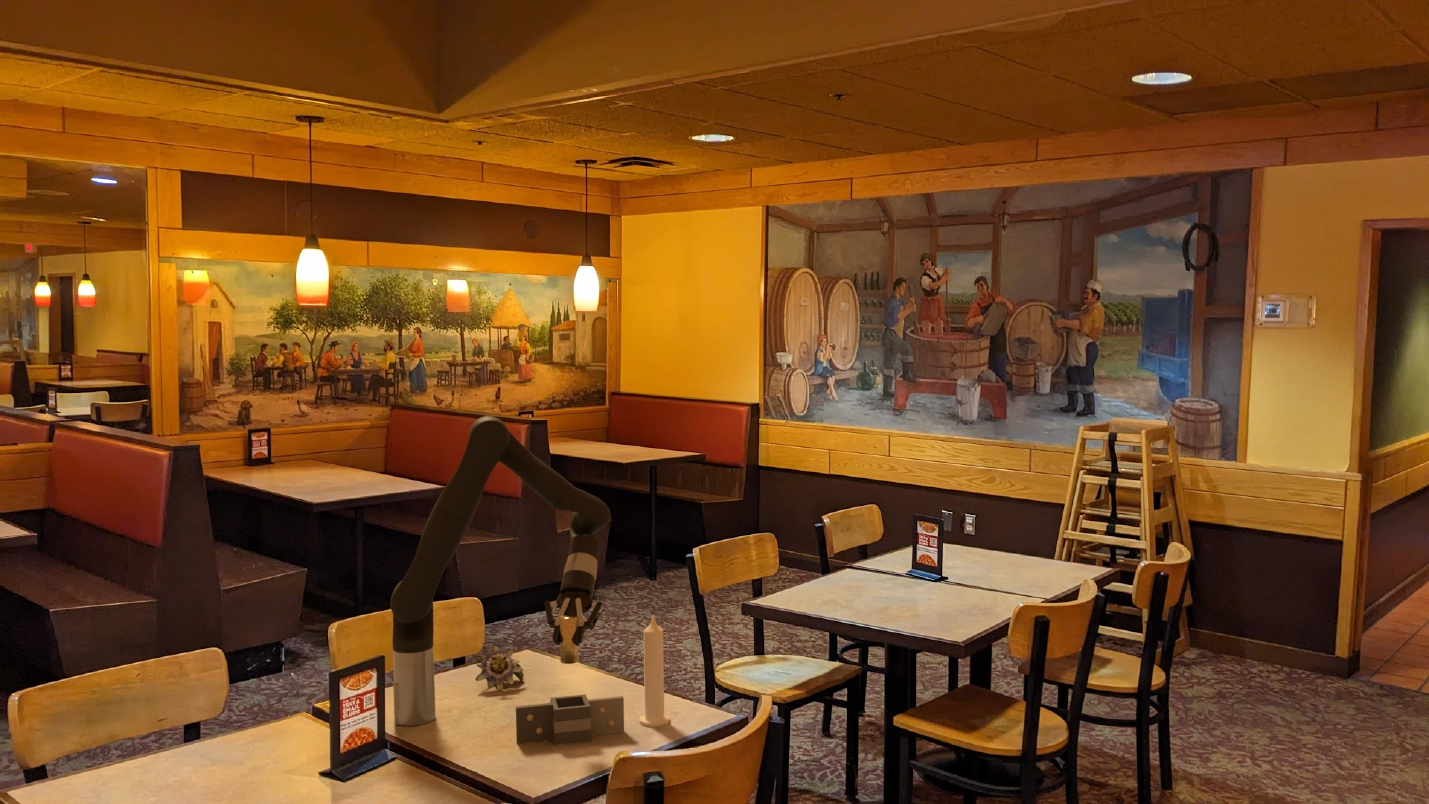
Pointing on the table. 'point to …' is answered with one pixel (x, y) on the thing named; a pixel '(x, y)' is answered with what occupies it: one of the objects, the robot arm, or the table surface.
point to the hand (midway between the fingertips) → (566, 643)
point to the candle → (654, 677)
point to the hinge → (569, 719)
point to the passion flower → (499, 668)
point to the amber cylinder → (568, 639)
